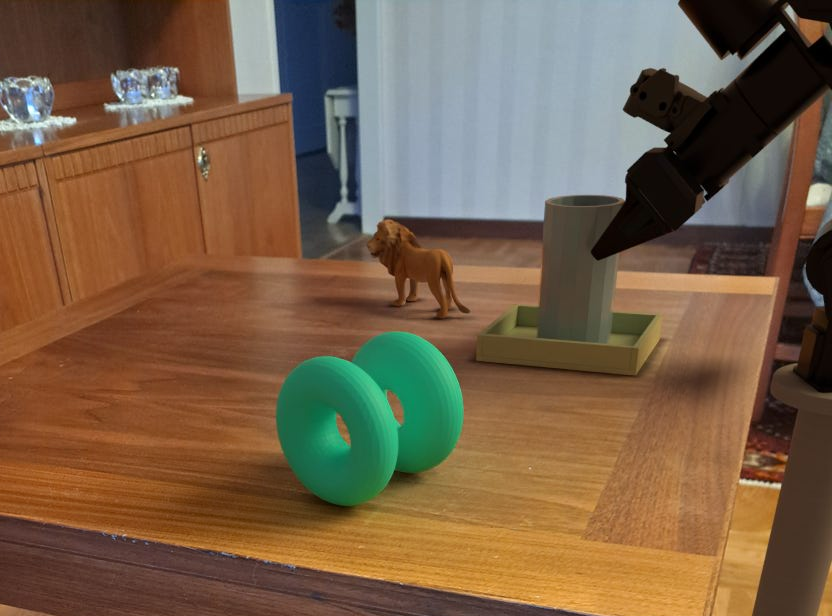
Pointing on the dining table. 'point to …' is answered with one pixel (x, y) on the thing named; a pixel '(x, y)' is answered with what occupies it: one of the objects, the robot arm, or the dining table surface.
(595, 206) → the cup
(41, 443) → the dining table surface
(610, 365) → the tray
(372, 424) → the donuts
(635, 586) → the dining table surface
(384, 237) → the lion figurine
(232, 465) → the dining table surface
